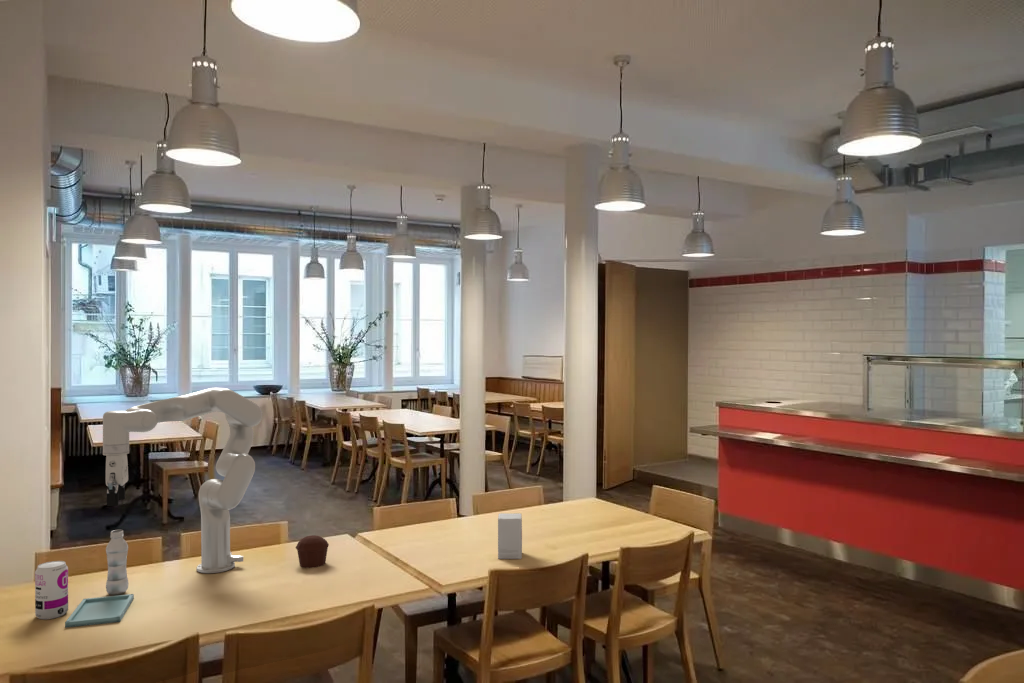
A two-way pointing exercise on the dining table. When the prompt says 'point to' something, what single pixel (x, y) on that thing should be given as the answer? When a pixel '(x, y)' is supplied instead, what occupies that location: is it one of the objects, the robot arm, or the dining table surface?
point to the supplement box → (510, 536)
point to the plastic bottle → (117, 563)
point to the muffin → (312, 551)
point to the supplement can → (51, 590)
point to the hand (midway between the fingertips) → (116, 502)
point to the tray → (100, 610)
